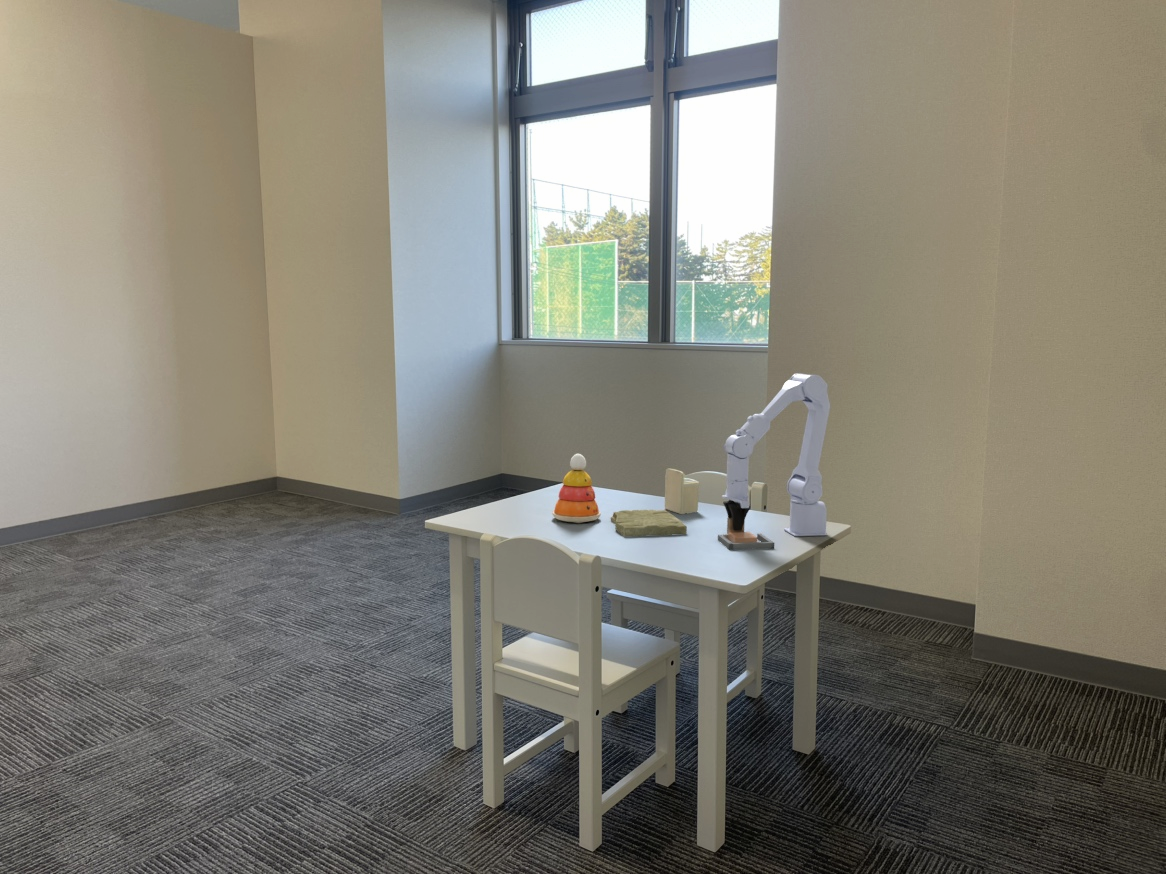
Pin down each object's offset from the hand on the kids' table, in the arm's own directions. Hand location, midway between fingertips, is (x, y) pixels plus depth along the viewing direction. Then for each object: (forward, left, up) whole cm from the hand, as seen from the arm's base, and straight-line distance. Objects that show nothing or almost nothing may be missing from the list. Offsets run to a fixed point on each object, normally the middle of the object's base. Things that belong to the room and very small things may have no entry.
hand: (735, 528), depth 235 cm
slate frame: (0, +8, -2) cm, 8 cm away
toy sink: (+6, -34, -2) cm, 35 cm away
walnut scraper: (0, 0, -2) cm, 2 cm away
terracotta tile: (0, +5, -2) cm, 6 cm away
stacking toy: (+40, -26, -2) cm, 48 cm away
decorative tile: (+22, -14, -3) cm, 26 cm away
